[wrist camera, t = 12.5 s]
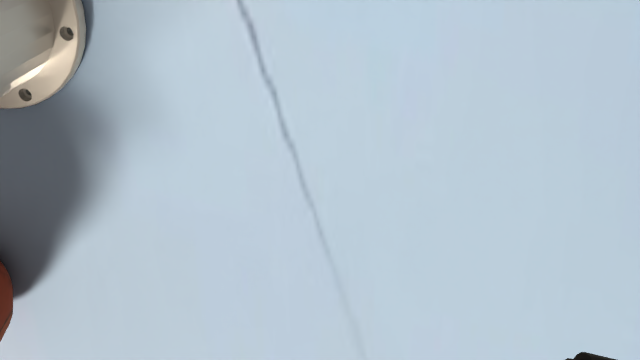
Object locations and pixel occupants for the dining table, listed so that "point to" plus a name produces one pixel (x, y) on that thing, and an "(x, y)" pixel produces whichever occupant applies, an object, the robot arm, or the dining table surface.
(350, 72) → the dining table surface
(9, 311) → the potted plant
